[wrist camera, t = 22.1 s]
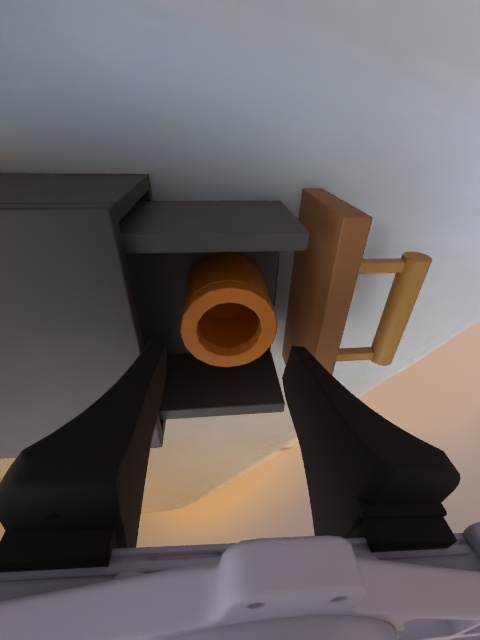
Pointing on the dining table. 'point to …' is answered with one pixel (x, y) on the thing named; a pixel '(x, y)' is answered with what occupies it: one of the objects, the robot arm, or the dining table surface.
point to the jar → (227, 311)
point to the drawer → (263, 250)
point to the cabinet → (63, 299)
